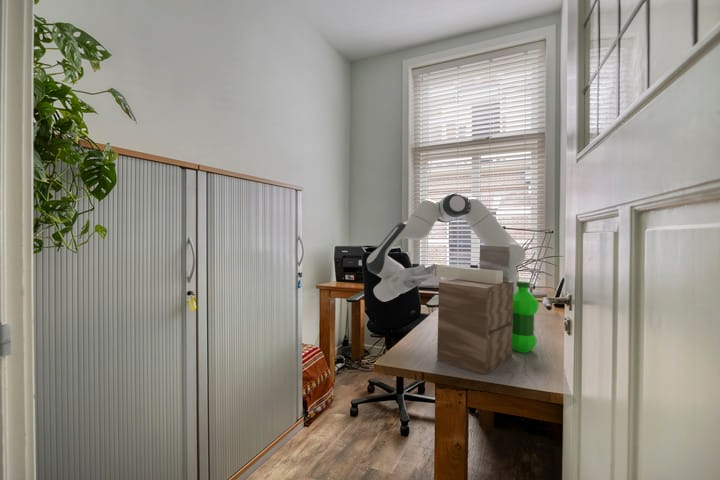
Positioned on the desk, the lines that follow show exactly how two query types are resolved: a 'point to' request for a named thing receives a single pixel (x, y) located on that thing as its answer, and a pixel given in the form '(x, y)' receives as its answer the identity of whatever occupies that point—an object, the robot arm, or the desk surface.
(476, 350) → the wood grain block
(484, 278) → the white rectangular bar
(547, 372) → the desk surface
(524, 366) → the desk surface
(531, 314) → the plastic bottle
